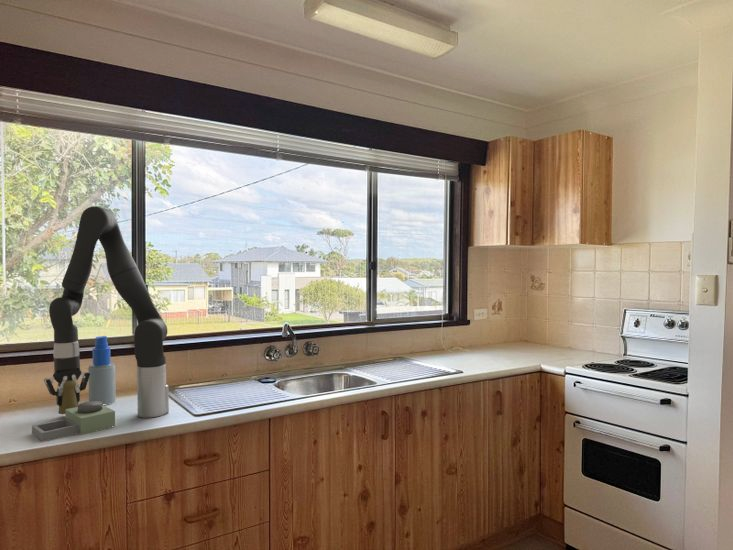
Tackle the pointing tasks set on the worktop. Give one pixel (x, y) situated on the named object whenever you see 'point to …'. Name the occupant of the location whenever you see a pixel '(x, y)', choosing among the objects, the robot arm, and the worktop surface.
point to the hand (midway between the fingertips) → (68, 404)
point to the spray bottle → (102, 373)
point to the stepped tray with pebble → (77, 421)
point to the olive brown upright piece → (68, 396)
